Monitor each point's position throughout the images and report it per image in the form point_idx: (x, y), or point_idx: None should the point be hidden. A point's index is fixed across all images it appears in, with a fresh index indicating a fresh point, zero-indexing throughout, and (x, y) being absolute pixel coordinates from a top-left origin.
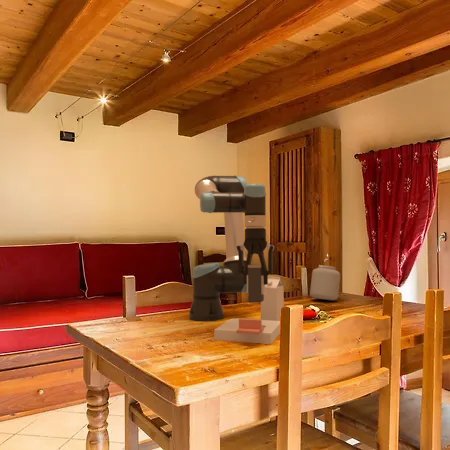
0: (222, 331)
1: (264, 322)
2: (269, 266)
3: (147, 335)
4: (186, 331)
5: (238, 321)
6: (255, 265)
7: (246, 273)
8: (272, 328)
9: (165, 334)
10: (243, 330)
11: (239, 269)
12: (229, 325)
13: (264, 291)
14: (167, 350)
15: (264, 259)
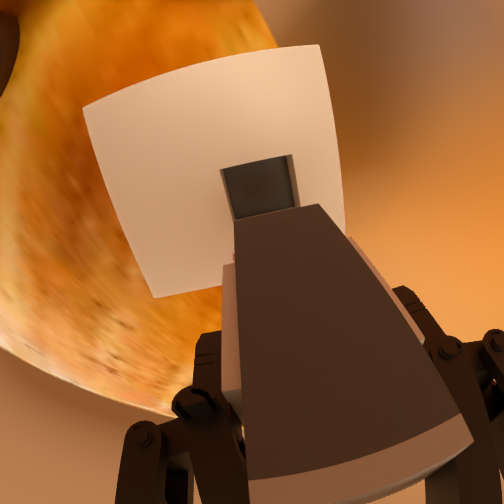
0: (181, 290)
1: (256, 98)
2: (492, 425)
3: (26, 309)
4: (38, 239)
5: (140, 141)
6: (365, 502)
7: (240, 444)
8: (331, 191)
9: (36, 288)
10: None
11: (167, 481)
12: (154, 225)
13: None
14: (147, 372)
15: (494, 498)
